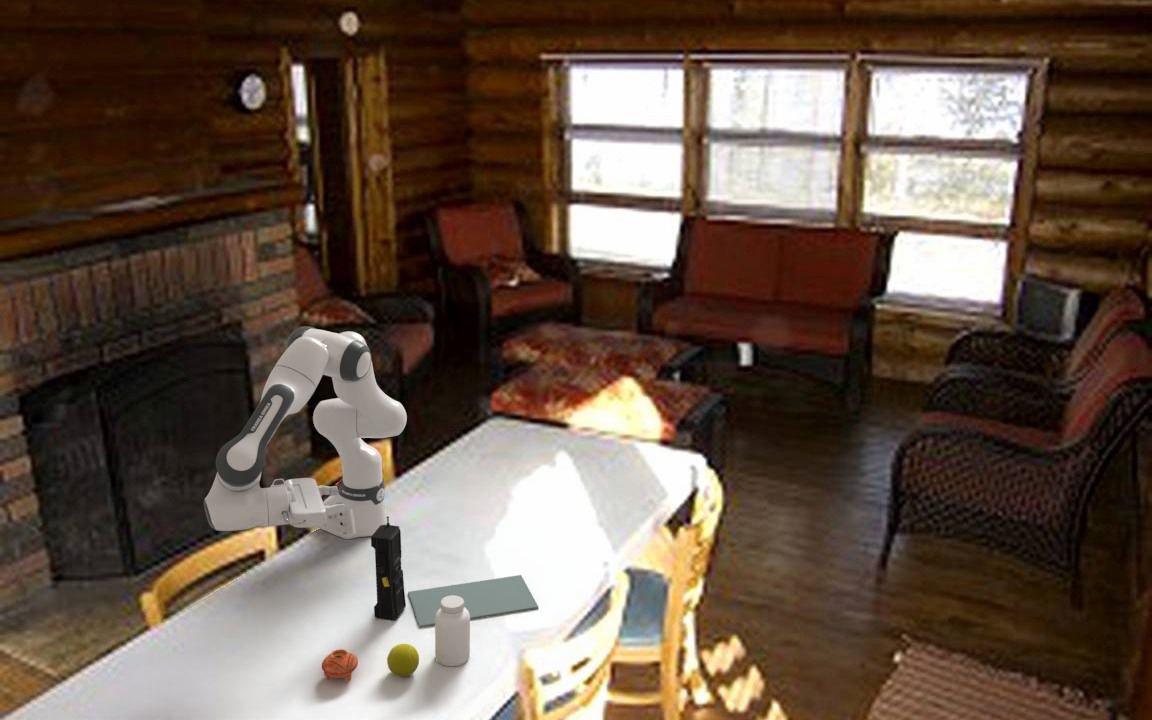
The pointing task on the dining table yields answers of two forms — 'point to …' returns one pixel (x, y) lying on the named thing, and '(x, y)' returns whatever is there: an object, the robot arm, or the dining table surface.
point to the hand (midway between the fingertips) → (341, 498)
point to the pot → (339, 664)
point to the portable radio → (388, 572)
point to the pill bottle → (452, 632)
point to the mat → (475, 598)
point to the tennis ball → (403, 660)
